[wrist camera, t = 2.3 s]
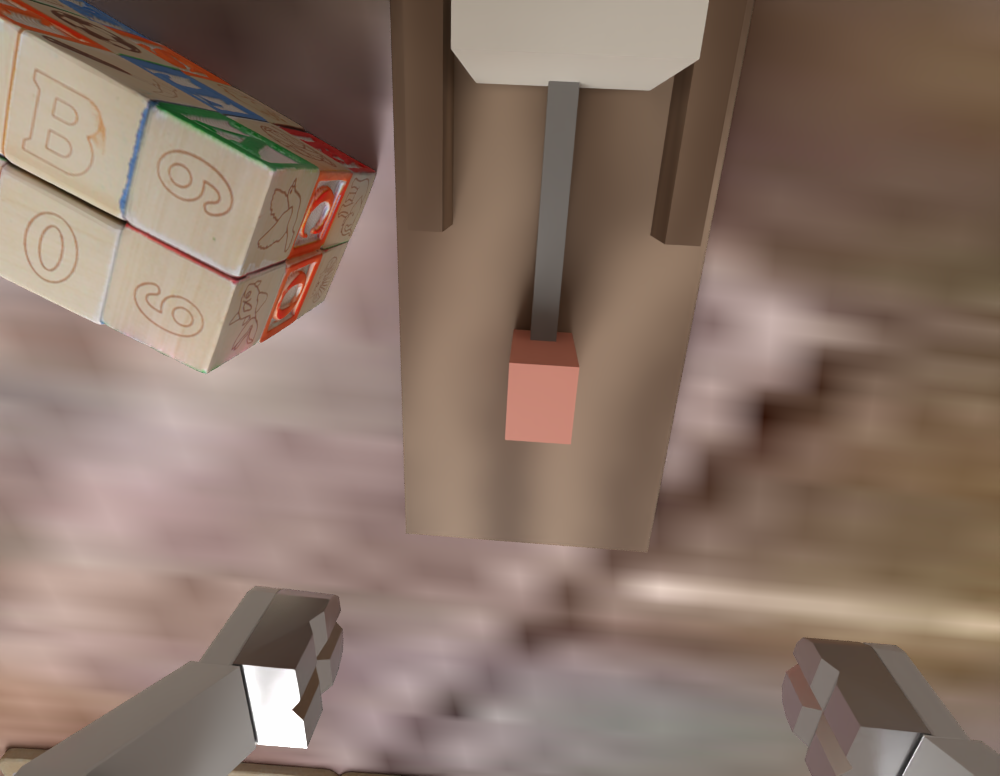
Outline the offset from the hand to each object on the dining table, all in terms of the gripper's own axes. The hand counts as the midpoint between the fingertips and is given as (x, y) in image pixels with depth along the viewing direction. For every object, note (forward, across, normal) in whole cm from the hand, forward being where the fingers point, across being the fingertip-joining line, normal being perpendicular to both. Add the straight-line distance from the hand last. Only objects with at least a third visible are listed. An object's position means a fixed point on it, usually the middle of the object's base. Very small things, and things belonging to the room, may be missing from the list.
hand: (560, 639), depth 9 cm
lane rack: (+15, 0, -5) cm, 16 cm away
